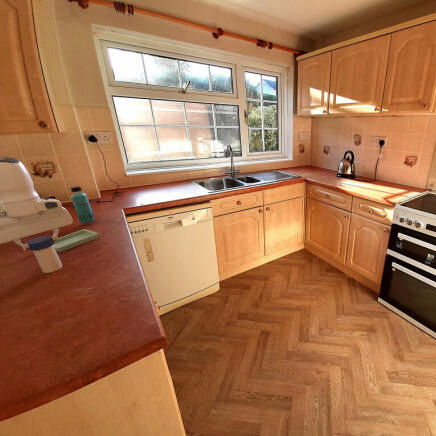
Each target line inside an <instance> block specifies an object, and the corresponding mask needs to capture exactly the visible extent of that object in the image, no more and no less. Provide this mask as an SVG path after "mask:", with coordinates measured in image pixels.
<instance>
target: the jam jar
mask: <svg viewBox="0 0 436 436" xmlns="http://www.w3.org/2000/svg"><path fill="white" fill-rule="evenodd" d="M32 253H33V255H34V257H35V259H36V261H37V263H38V265H39V267H40V269H41V271H42V273H43V274H49V273H53V272H56V271H58V270H60V269H62V268H63V263H62V261H61V259H60V256H59V254H58V252H57V251H56V250H55V248H54V245H52V246H50V247H48V248H45V249H41V250H36V251H32Z"/></svg>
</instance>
